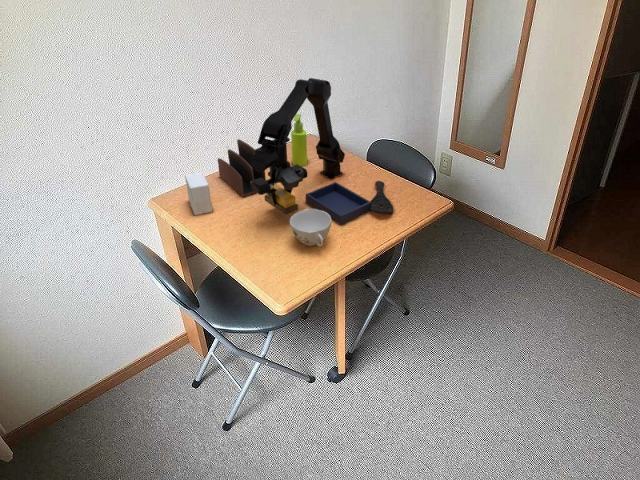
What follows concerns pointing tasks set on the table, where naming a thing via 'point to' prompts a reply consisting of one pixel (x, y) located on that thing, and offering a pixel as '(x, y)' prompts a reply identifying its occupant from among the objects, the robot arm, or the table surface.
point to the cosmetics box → (198, 193)
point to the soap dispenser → (299, 143)
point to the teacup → (311, 226)
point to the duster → (283, 200)
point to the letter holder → (240, 169)
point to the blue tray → (338, 202)
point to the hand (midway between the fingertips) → (280, 201)
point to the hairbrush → (381, 201)
